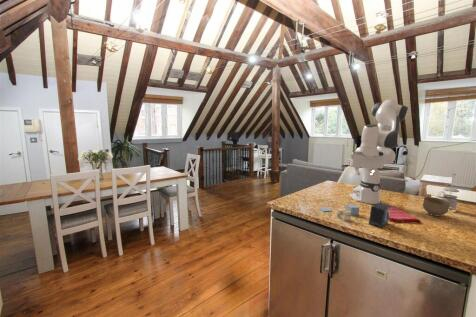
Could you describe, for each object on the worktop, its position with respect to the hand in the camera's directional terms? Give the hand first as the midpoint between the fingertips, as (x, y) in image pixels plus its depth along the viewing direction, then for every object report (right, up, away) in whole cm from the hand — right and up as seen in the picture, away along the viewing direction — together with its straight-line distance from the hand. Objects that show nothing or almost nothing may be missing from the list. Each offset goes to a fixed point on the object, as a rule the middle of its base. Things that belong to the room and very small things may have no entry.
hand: (364, 175), depth 140 cm
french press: (+64, -25, +18) cm, 71 cm away
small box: (+3, -27, -9) cm, 28 cm away
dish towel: (+21, -25, +5) cm, 33 cm away
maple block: (-14, -25, -4) cm, 29 cm away
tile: (-20, -23, +10) cm, 32 cm away
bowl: (+47, -26, +7) cm, 54 cm away
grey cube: (-5, -24, +5) cm, 25 cm away
